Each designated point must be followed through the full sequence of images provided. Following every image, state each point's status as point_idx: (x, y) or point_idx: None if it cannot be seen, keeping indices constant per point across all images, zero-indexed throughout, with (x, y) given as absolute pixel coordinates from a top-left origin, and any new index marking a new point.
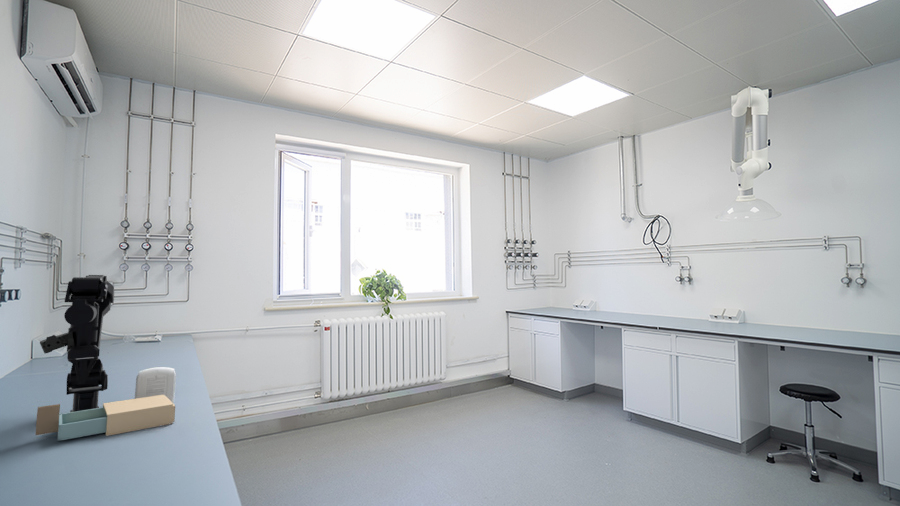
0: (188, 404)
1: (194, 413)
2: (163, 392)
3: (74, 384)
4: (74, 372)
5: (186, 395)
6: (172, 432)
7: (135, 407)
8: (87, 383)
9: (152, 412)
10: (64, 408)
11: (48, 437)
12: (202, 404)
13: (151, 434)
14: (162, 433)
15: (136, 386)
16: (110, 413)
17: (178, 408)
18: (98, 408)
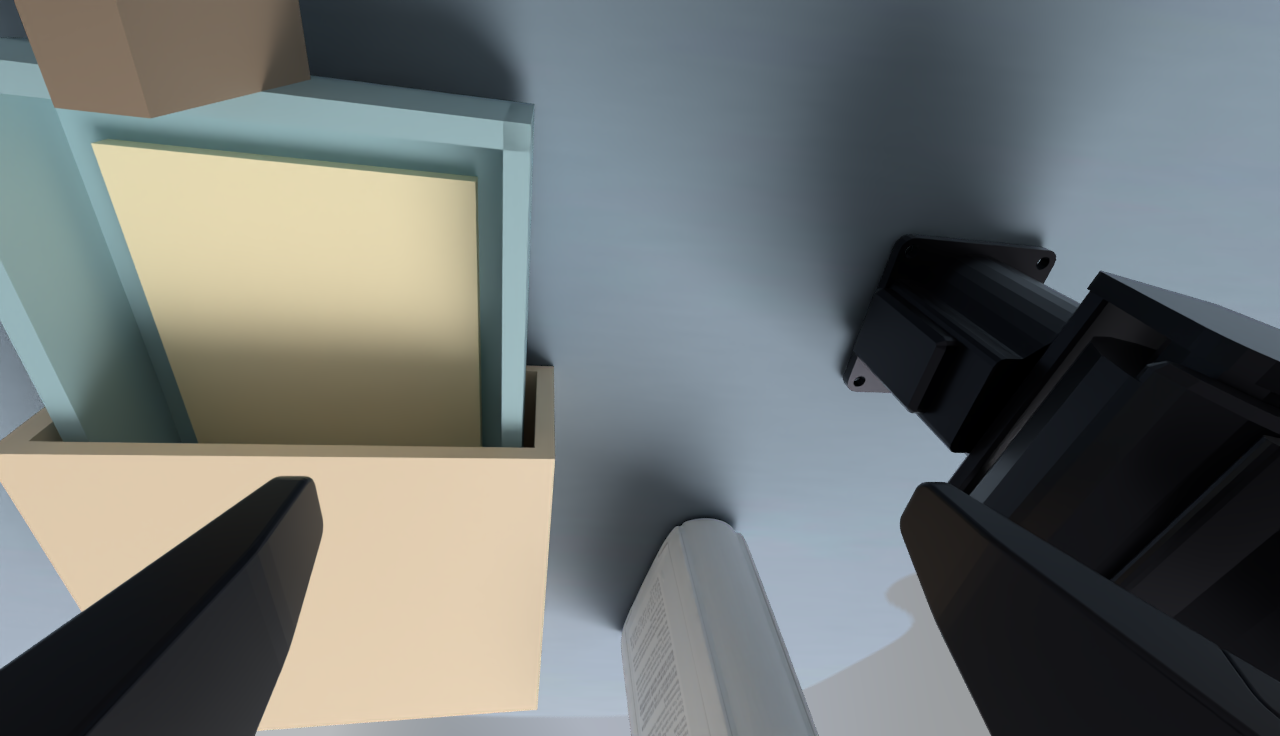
0: (609, 678)
1: None
2: (640, 701)
3: (1081, 382)
4: (1259, 490)
5: (803, 682)
6: (4, 603)
7: None
8: (1003, 477)
9: None
10: (1204, 231)
11: (357, 7)
12: (555, 711)
13: (12, 532)
14: (6, 571)
15: (734, 669)
16: (35, 473)
17: (562, 649)
18: (507, 411)
